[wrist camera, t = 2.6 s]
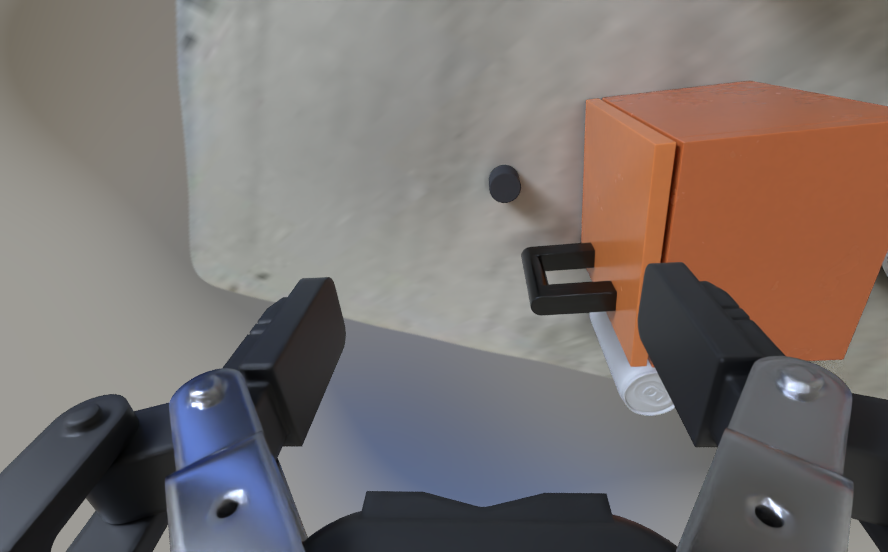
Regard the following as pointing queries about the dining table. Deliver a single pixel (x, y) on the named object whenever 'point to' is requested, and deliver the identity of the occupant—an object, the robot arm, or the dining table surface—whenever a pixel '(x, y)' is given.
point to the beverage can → (631, 373)
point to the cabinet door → (610, 226)
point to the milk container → (885, 264)
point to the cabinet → (776, 203)
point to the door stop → (504, 184)
